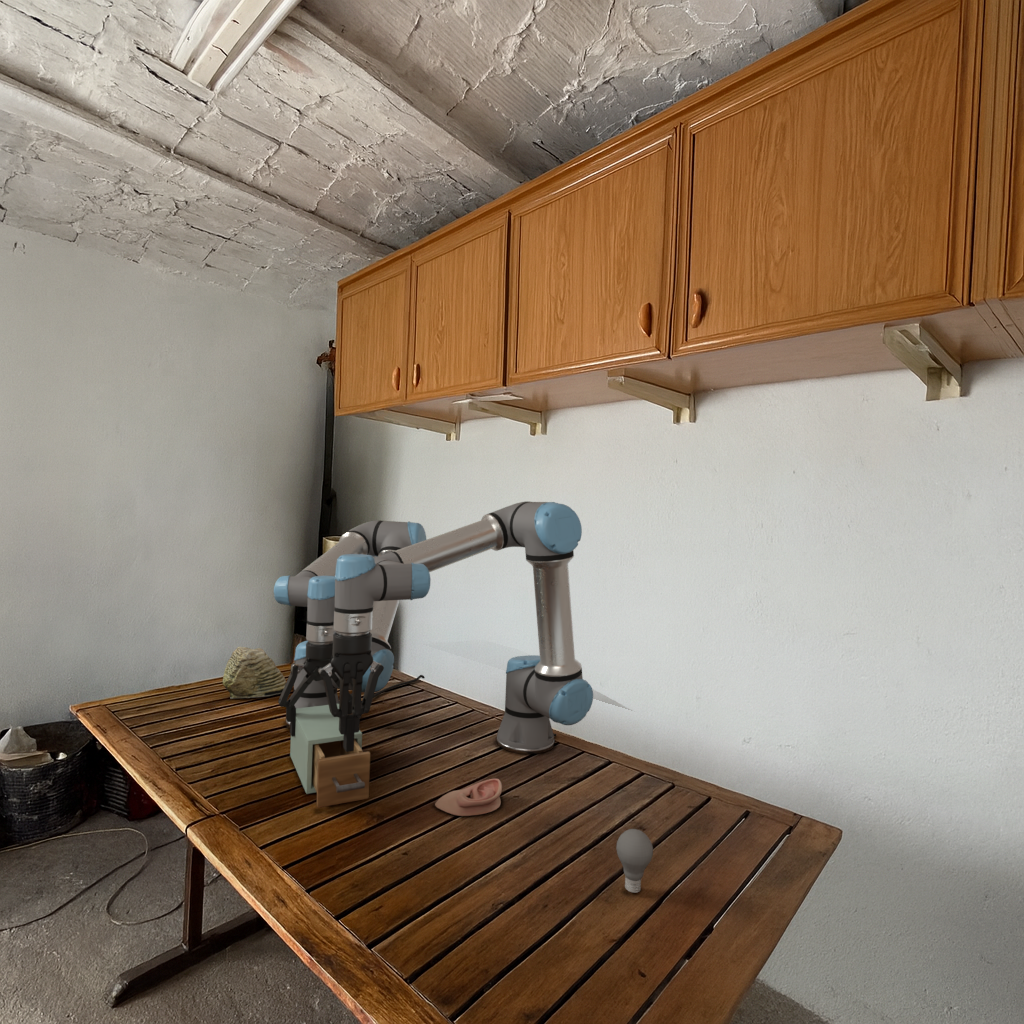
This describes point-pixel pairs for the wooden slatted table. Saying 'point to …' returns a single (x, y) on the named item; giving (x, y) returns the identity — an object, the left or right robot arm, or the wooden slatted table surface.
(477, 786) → the anatomical model
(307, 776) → the cabinet
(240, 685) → the fossil
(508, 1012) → the wooden slatted table surface
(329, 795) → the drawer
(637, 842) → the light bulb
